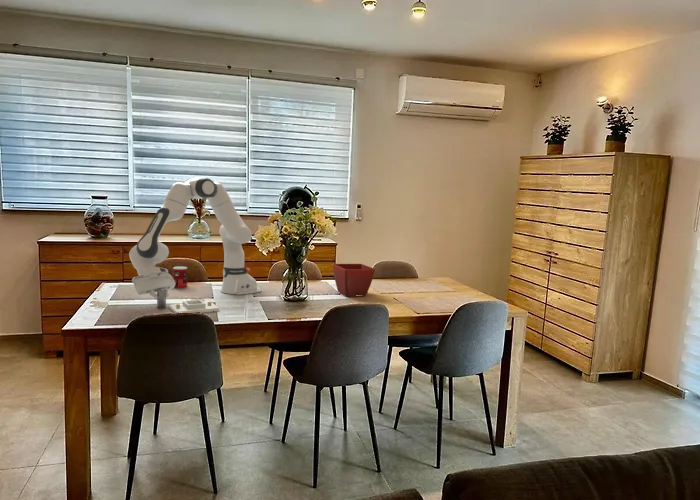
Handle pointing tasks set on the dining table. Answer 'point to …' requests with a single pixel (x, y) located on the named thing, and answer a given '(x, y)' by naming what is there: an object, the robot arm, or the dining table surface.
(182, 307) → the housing
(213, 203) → the robot arm
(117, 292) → the dining table surface
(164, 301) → the pin
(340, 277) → the plant pot
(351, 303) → the dining table surface
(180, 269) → the canned food
